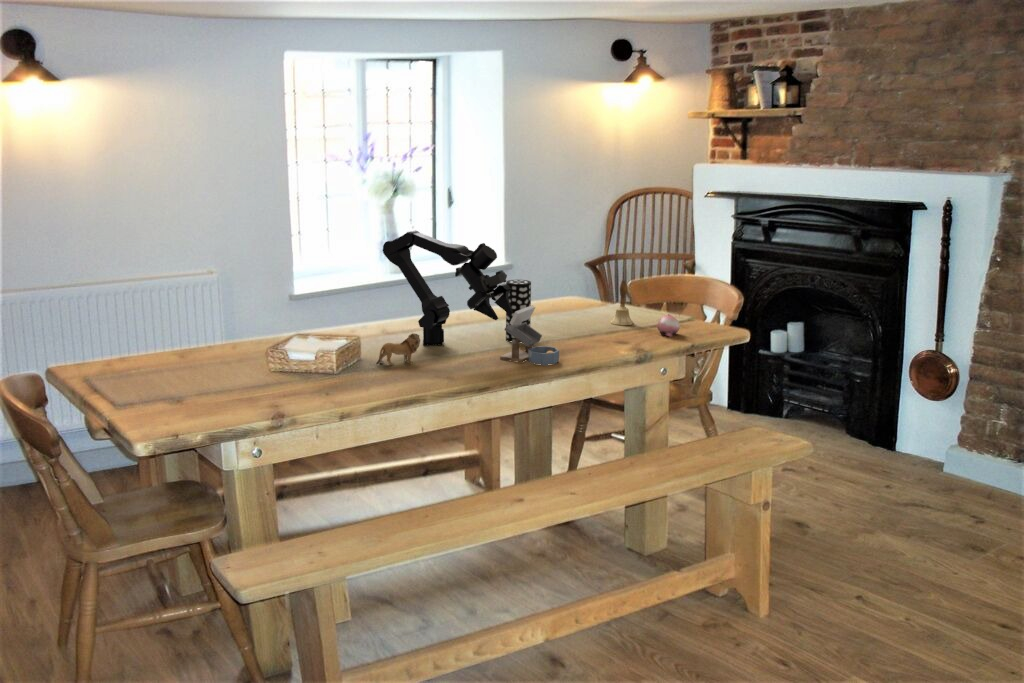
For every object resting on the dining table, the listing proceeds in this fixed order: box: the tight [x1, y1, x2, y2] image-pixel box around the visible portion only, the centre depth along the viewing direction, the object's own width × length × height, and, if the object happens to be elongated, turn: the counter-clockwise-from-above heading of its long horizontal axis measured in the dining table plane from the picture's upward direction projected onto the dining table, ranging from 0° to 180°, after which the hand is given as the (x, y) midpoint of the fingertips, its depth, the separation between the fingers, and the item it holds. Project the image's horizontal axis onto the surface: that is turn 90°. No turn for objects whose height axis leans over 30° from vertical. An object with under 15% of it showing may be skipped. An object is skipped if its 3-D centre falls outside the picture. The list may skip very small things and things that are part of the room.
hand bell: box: [610, 279, 634, 326], centre depth 392 cm, size 8×8×16 cm
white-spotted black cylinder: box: [505, 279, 532, 342], centre depth 366 cm, size 8×8×20 cm
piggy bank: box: [656, 313, 681, 338], centre depth 377 cm, size 8×8×7 cm
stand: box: [499, 339, 533, 363], centre depth 345 cm, size 8×11×7 cm
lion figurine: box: [375, 332, 421, 366], centre depth 337 cm, size 15×5×9 cm, turn 118°
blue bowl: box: [527, 345, 560, 366], centre depth 341 cm, size 9×9×4 cm
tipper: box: [503, 304, 543, 347], centre depth 342 cm, size 10×11×8 cm
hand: (504, 316), depth 346 cm, fingers open, 9 cm apart
